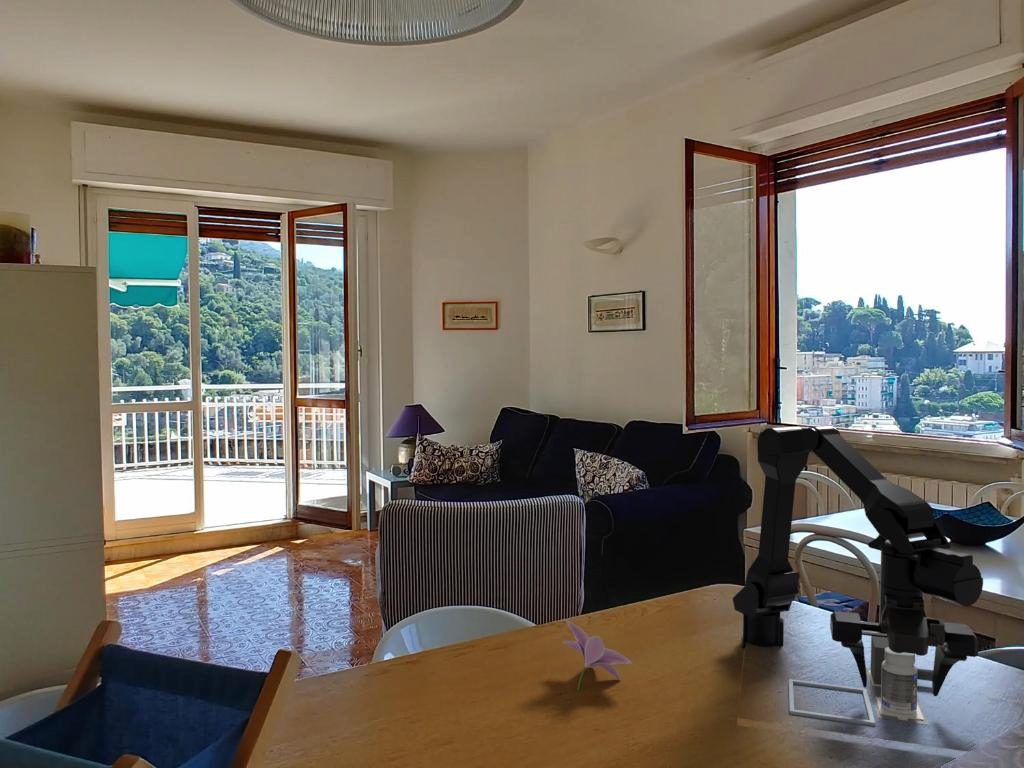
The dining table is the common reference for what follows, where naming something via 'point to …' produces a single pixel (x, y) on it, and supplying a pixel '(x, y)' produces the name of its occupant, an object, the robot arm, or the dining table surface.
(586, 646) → the lily
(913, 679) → the pill bottle
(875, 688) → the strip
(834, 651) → the dining table surface
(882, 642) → the grey block with peg
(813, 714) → the grey square frame
